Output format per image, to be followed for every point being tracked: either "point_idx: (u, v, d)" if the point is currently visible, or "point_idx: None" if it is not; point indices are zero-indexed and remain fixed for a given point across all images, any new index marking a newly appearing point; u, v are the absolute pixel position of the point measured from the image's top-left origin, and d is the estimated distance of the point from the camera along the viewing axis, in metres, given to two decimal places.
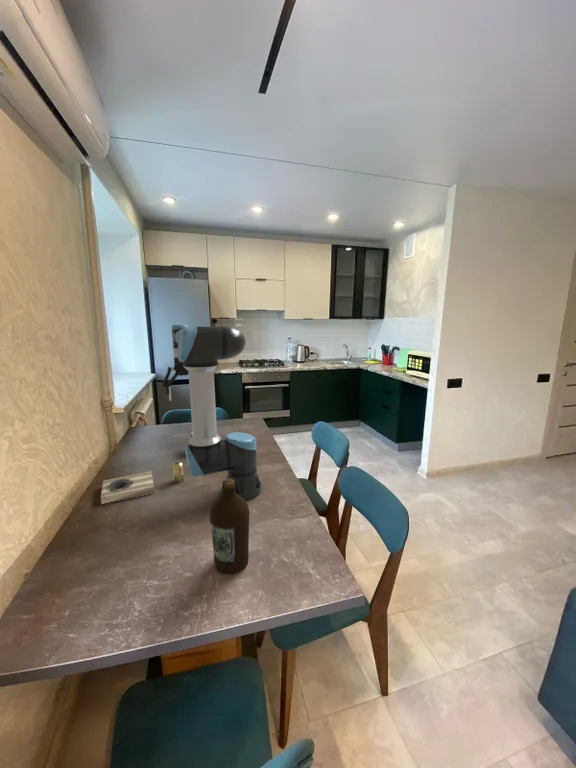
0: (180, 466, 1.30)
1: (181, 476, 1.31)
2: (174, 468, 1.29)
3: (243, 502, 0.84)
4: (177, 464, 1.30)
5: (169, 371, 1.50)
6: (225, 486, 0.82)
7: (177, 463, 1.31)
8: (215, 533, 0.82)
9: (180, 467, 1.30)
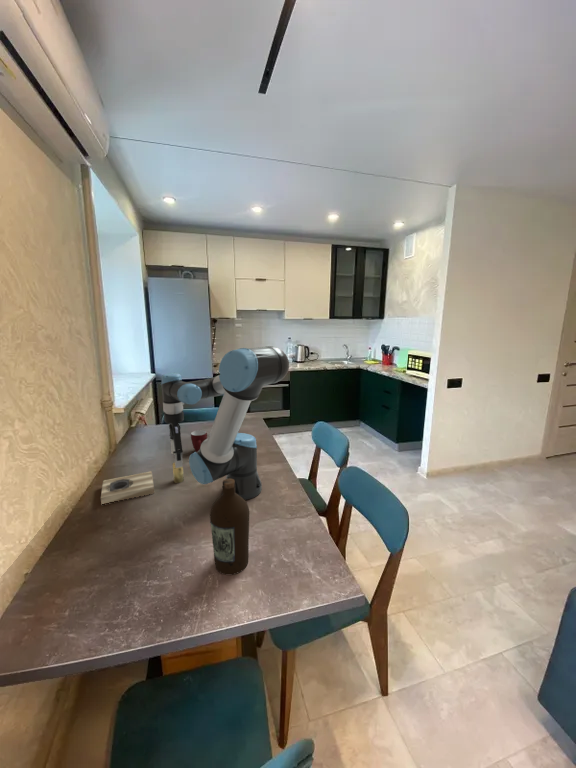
0: None
1: (181, 476, 1.31)
2: (174, 468, 1.29)
3: (243, 502, 0.84)
4: None
5: None
6: (225, 486, 0.82)
7: None
8: (215, 533, 0.82)
9: (180, 467, 1.30)
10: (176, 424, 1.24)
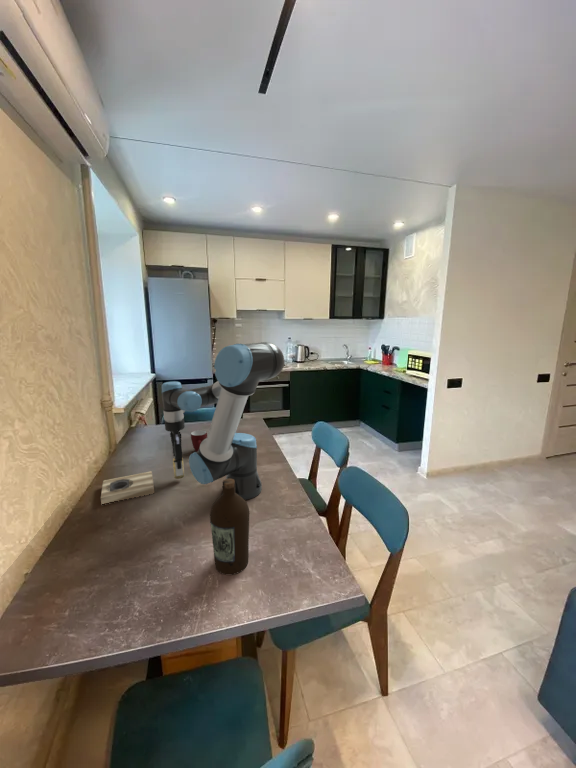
0: None
1: None
2: (174, 463, 1.29)
3: (243, 502, 0.84)
4: None
5: None
6: (225, 486, 0.82)
7: None
8: (215, 533, 0.81)
9: None
10: (177, 432, 1.25)
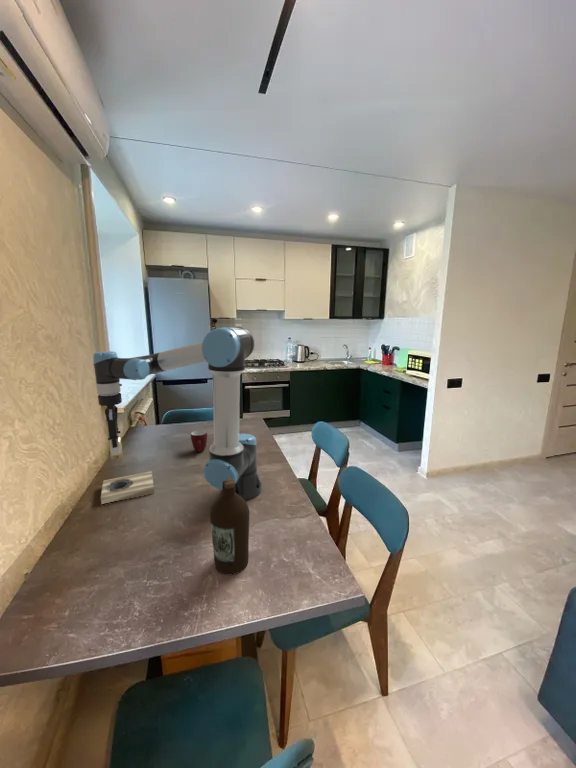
0: None
1: None
2: None
3: (243, 502, 0.84)
4: None
5: None
6: (225, 486, 0.82)
7: None
8: (215, 533, 0.81)
9: None
10: (111, 407, 1.13)
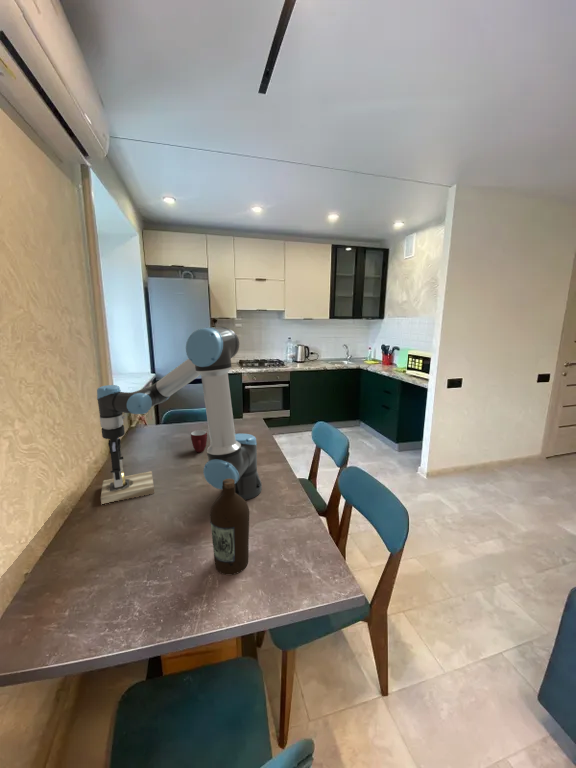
0: None
1: (122, 487, 1.22)
2: None
3: (243, 502, 0.84)
4: None
5: None
6: (225, 486, 0.82)
7: None
8: (215, 533, 0.81)
9: None
10: (114, 440, 1.16)
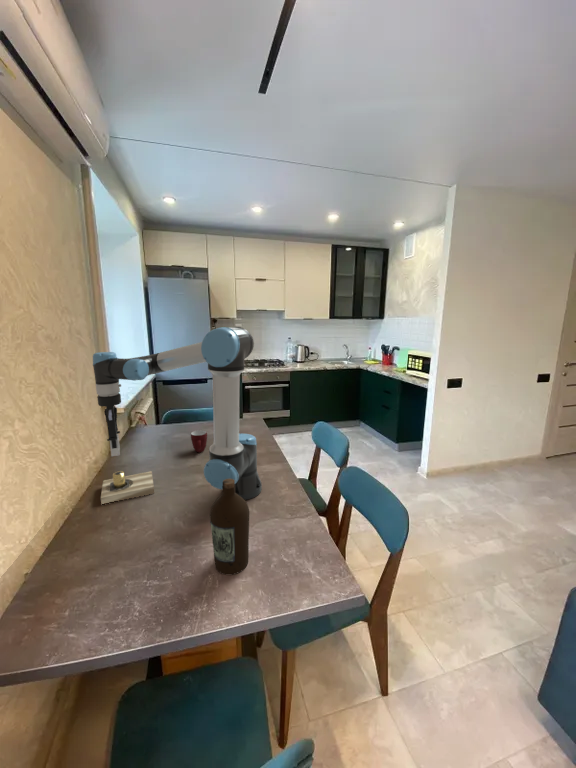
0: (121, 476, 1.21)
1: (122, 487, 1.22)
2: (114, 479, 1.21)
3: (243, 502, 0.84)
4: (117, 474, 1.21)
5: None
6: (225, 486, 0.82)
7: (118, 473, 1.22)
8: (215, 533, 0.81)
9: (120, 477, 1.21)
10: (110, 407, 1.13)
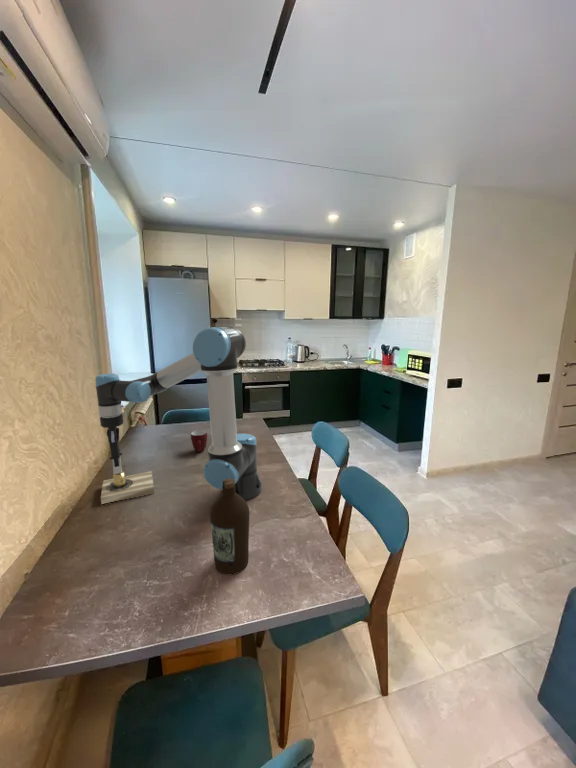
0: (121, 476, 1.21)
1: (122, 487, 1.22)
2: (114, 478, 1.21)
3: (243, 502, 0.84)
4: (118, 474, 1.21)
5: None
6: (225, 486, 0.82)
7: None
8: (215, 533, 0.81)
9: (120, 477, 1.21)
10: (113, 428, 1.15)
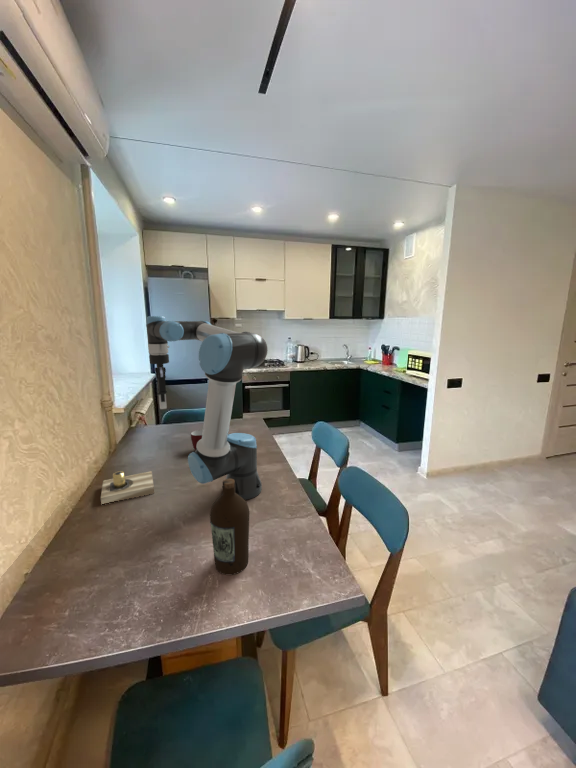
0: (121, 476, 1.21)
1: (122, 487, 1.22)
2: (114, 479, 1.21)
3: (243, 502, 0.84)
4: (117, 474, 1.21)
5: None
6: (225, 486, 0.82)
7: (118, 473, 1.22)
8: (215, 533, 0.82)
9: (120, 477, 1.21)
10: (161, 365, 1.28)
